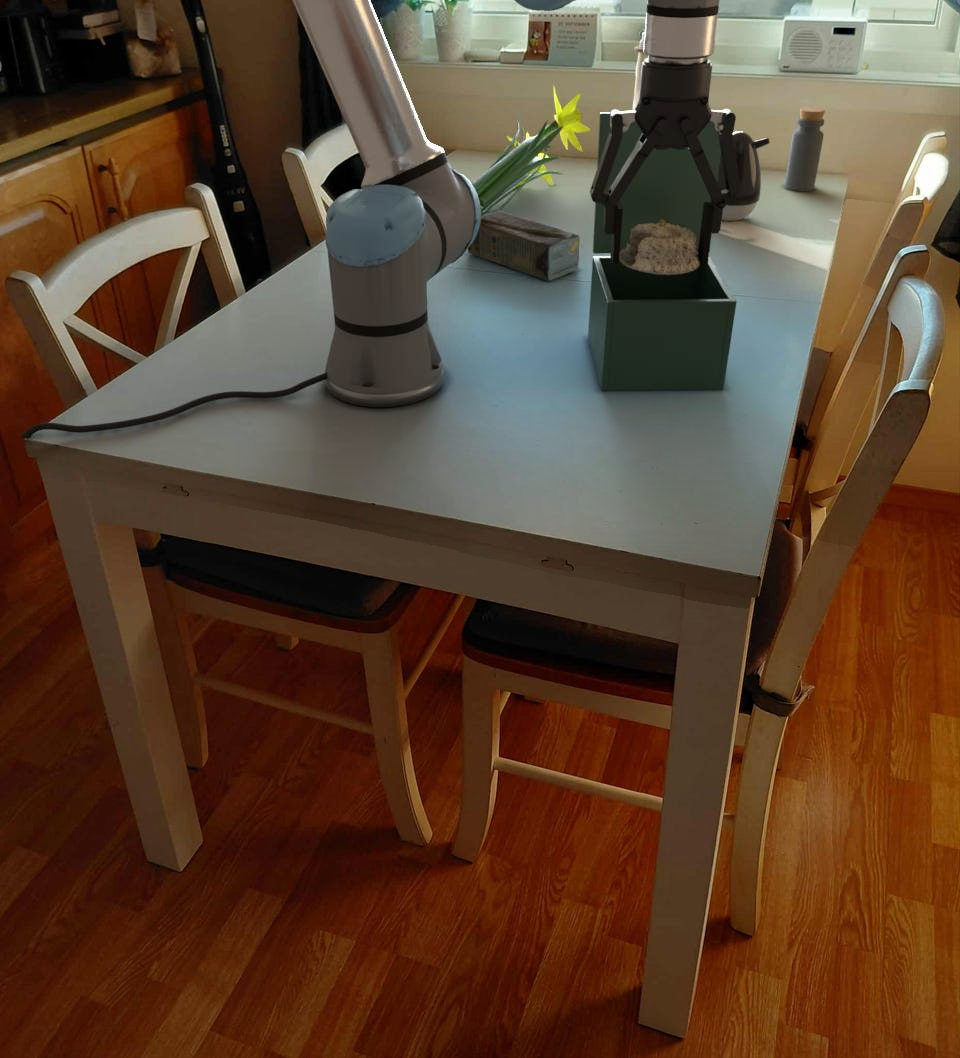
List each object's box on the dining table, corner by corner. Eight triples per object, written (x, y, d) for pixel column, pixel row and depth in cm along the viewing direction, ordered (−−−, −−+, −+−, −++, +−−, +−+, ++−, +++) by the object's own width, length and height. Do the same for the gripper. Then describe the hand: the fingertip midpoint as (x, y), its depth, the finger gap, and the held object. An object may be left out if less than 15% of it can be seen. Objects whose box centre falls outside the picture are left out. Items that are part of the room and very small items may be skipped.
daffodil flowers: (431, 210, 191) (527, 127, 208) (489, 258, 191) (580, 171, 208) (454, 147, 176) (556, 64, 193) (517, 198, 176) (613, 110, 193)
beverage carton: (547, 283, 156) (548, 242, 152) (464, 255, 167) (463, 216, 163) (580, 270, 160) (582, 230, 157) (497, 244, 172) (497, 206, 168)
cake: (684, 250, 123) (693, 207, 120) (710, 279, 115) (719, 234, 112) (608, 248, 122) (614, 204, 119) (628, 277, 114) (635, 231, 111)
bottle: (778, 185, 202) (791, 107, 193) (803, 182, 203) (817, 105, 195) (794, 192, 197) (808, 113, 189) (819, 190, 199) (834, 111, 190)
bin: (723, 389, 125) (736, 301, 118) (601, 390, 124) (607, 302, 118) (697, 337, 138) (708, 255, 132) (587, 338, 138) (592, 256, 131)
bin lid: (724, 112, 122) (723, 111, 123) (600, 113, 122) (599, 112, 123) (709, 252, 131) (708, 251, 132) (593, 253, 131) (592, 252, 132)
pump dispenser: (756, 227, 179) (770, 140, 170) (699, 222, 181) (709, 136, 173) (758, 211, 187) (771, 127, 178) (703, 207, 189) (713, 124, 181)
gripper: (774, 51, 108) (745, 249, 121) (571, 53, 109) (563, 250, 121) (791, 62, 102) (758, 270, 115) (575, 64, 103) (567, 271, 115)
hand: (658, 259), depth 118 cm, fingers closed on cake, 10 cm apart
